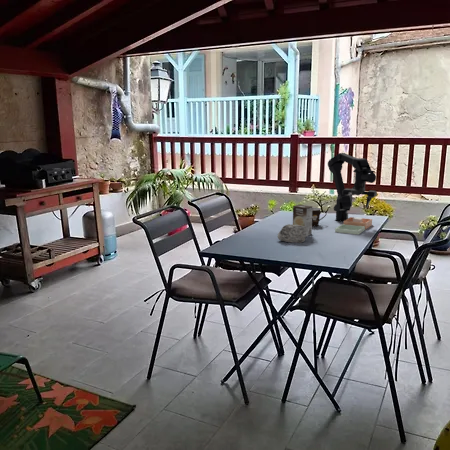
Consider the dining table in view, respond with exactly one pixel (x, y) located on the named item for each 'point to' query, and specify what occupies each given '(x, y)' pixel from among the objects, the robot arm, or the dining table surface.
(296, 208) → the coffee box
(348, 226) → the pale green tray
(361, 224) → the terracotta bin
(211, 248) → the dining table surface
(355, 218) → the grey block
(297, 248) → the dining table surface
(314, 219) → the coffee mug
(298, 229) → the rock
